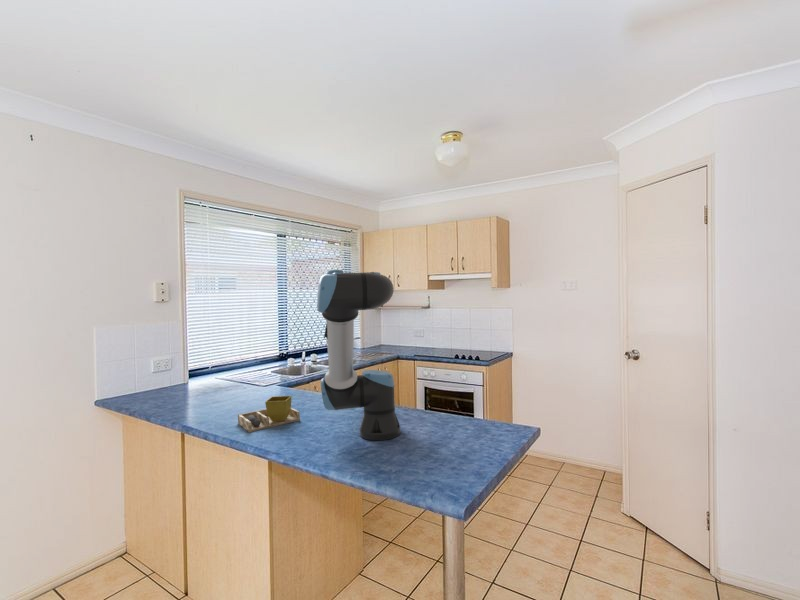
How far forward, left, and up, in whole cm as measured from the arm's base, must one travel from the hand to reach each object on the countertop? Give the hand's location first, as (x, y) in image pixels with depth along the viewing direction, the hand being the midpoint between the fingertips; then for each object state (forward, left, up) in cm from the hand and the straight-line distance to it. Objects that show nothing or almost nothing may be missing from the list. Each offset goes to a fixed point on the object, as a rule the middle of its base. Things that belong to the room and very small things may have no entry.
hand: (338, 354), depth 172 cm
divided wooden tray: (+15, +26, -27) cm, 40 cm away
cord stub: (+15, +33, -26) cm, 44 cm away
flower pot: (+12, +23, -26) cm, 37 cm away
